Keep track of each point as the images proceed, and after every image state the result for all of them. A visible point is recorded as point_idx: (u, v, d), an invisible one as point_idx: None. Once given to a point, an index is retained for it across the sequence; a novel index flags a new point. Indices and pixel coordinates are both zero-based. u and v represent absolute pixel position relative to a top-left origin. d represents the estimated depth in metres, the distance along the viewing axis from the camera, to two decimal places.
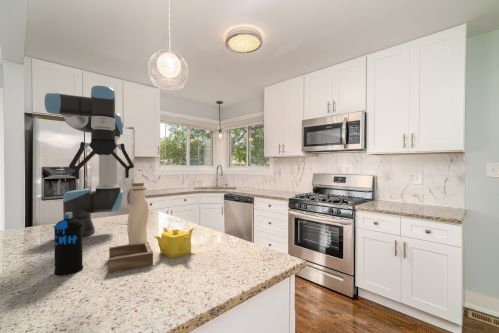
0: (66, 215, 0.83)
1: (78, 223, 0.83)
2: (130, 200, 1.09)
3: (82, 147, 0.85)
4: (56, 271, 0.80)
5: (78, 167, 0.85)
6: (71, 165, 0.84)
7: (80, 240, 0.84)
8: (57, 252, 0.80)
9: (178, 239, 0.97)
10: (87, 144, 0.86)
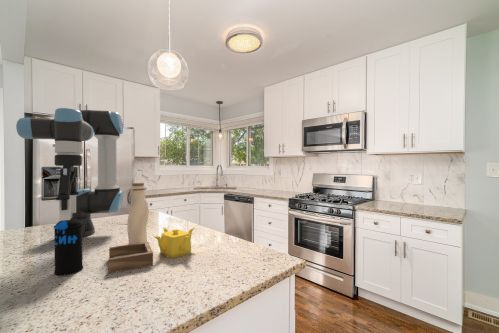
0: None
1: (78, 223, 0.83)
2: (130, 200, 1.09)
3: None
4: (56, 271, 0.80)
5: None
6: None
7: (80, 240, 0.84)
8: (57, 252, 0.80)
9: (178, 239, 0.97)
10: None
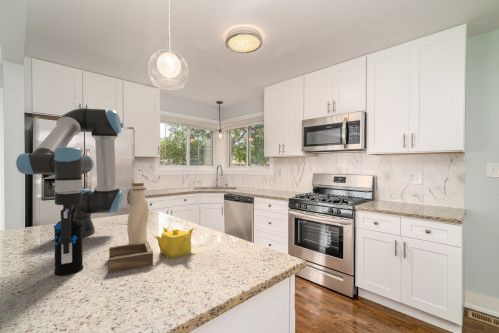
0: None
1: (78, 223, 0.83)
2: (130, 200, 1.09)
3: None
4: (56, 271, 0.80)
5: None
6: None
7: (80, 240, 0.84)
8: (57, 252, 0.80)
9: (178, 239, 0.97)
10: None
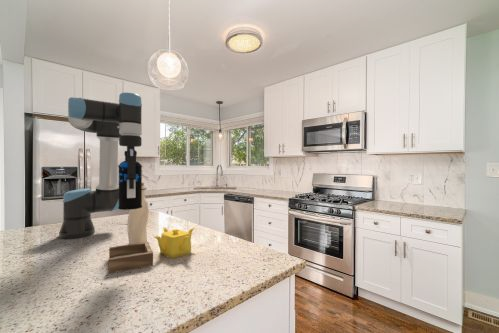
0: None
1: (139, 164, 0.91)
2: None
3: None
4: (121, 206, 0.87)
5: None
6: None
7: (140, 180, 0.91)
8: (122, 188, 0.87)
9: (178, 239, 0.97)
10: None
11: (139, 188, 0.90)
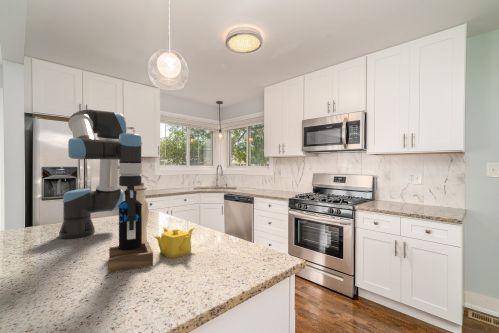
0: None
1: (139, 203, 0.91)
2: None
3: None
4: (121, 246, 0.88)
5: None
6: None
7: (140, 219, 0.91)
8: (122, 229, 0.87)
9: (178, 239, 0.97)
10: None
11: (139, 228, 0.90)
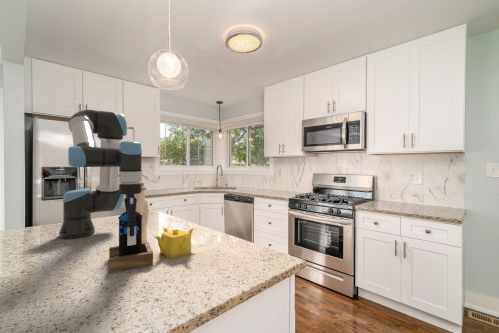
0: None
1: (139, 215, 0.91)
2: None
3: None
4: None
5: None
6: None
7: (140, 231, 0.91)
8: (122, 241, 0.88)
9: (178, 239, 0.97)
10: None
11: (139, 239, 0.90)
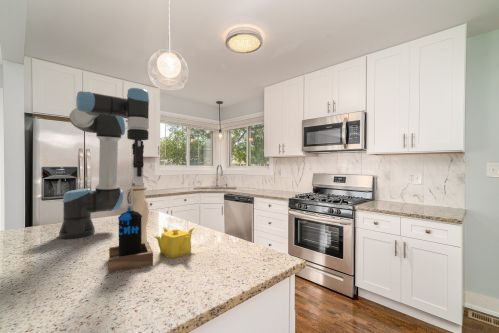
0: (128, 208, 0.90)
1: (139, 215, 0.91)
2: (130, 200, 1.09)
3: None
4: None
5: (133, 164, 1.01)
6: (133, 162, 1.03)
7: (140, 231, 0.91)
8: (122, 241, 0.88)
9: (178, 239, 0.97)
10: None
11: (139, 239, 0.90)
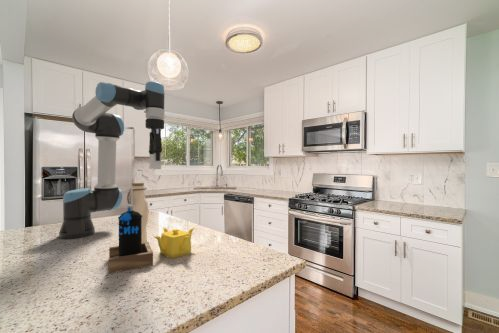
0: (128, 208, 0.90)
1: (139, 215, 0.91)
2: (130, 200, 1.09)
3: None
4: None
5: (149, 152, 1.10)
6: (149, 150, 1.12)
7: (140, 231, 0.91)
8: (122, 241, 0.88)
9: (178, 239, 0.97)
10: None
11: (139, 239, 0.90)
